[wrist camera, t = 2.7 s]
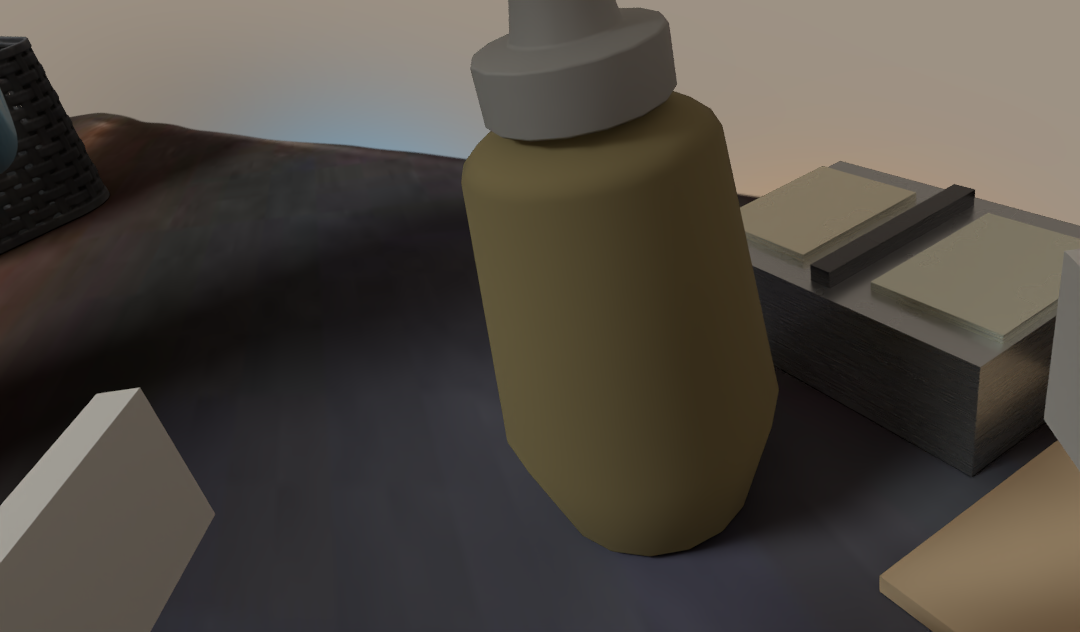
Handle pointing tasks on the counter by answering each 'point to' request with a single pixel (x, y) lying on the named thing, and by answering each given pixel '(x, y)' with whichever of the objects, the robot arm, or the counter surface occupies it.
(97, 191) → the storage bin
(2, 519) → the robot arm
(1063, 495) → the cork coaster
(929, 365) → the grey box with panels
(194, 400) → the counter surface
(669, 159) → the squeeze bottle
